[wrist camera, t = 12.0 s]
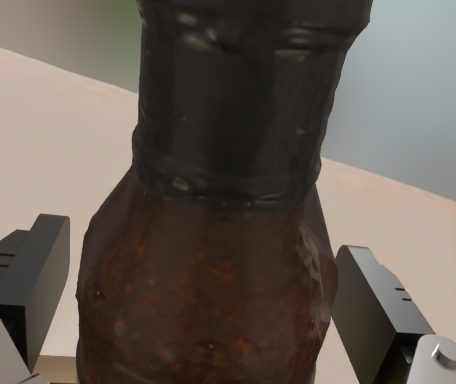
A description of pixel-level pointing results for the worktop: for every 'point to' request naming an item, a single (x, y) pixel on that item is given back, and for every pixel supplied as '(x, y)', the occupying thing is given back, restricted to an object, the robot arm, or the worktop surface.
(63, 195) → the worktop surface
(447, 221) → the worktop surface
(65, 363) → the dock
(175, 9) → the sauce bottle
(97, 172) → the worktop surface
